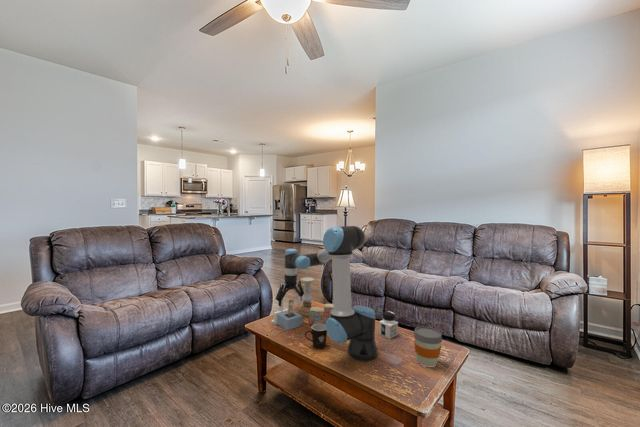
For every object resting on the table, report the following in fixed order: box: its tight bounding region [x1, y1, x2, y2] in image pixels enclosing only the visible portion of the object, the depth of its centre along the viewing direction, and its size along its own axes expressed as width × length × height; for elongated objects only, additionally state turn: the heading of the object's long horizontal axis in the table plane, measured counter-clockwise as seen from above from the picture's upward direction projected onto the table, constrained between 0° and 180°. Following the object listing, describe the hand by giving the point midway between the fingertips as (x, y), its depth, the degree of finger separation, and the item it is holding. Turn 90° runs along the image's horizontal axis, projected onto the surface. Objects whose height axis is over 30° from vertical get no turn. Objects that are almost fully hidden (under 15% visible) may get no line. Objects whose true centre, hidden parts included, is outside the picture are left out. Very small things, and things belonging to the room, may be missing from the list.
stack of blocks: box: [308, 303, 333, 326], centre depth 175 cm, size 21×6×12 cm, turn 80°
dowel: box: [287, 299, 295, 318], centre depth 174 cm, size 3×3×14 cm
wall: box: [270, 307, 295, 325], centre depth 180 cm, size 5×14×7 cm, turn 130°
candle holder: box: [295, 276, 316, 319], centre depth 191 cm, size 11×11×24 cm
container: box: [378, 310, 399, 340], centre depth 163 cm, size 8×8×13 cm
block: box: [277, 310, 303, 331], centre depth 174 cm, size 11×11×6 cm
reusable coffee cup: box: [413, 326, 443, 366], centre depth 135 cm, size 13×12×15 cm
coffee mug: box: [304, 324, 328, 350], centre depth 149 cm, size 12×9×10 cm
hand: (290, 308), depth 173 cm, fingers open, 12 cm apart
